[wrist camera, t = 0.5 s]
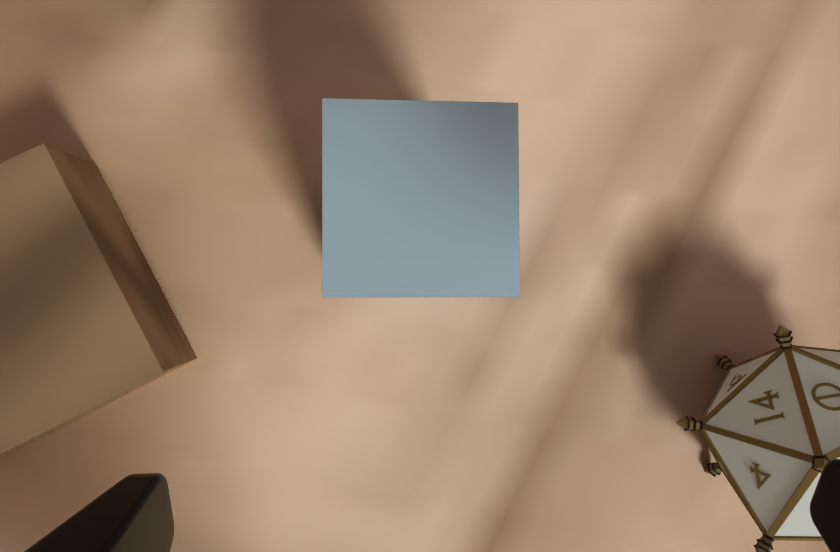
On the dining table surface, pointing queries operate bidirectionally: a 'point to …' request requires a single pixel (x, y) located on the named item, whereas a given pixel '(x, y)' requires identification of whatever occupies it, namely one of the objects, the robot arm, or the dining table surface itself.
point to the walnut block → (72, 299)
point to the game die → (775, 434)
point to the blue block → (419, 199)
